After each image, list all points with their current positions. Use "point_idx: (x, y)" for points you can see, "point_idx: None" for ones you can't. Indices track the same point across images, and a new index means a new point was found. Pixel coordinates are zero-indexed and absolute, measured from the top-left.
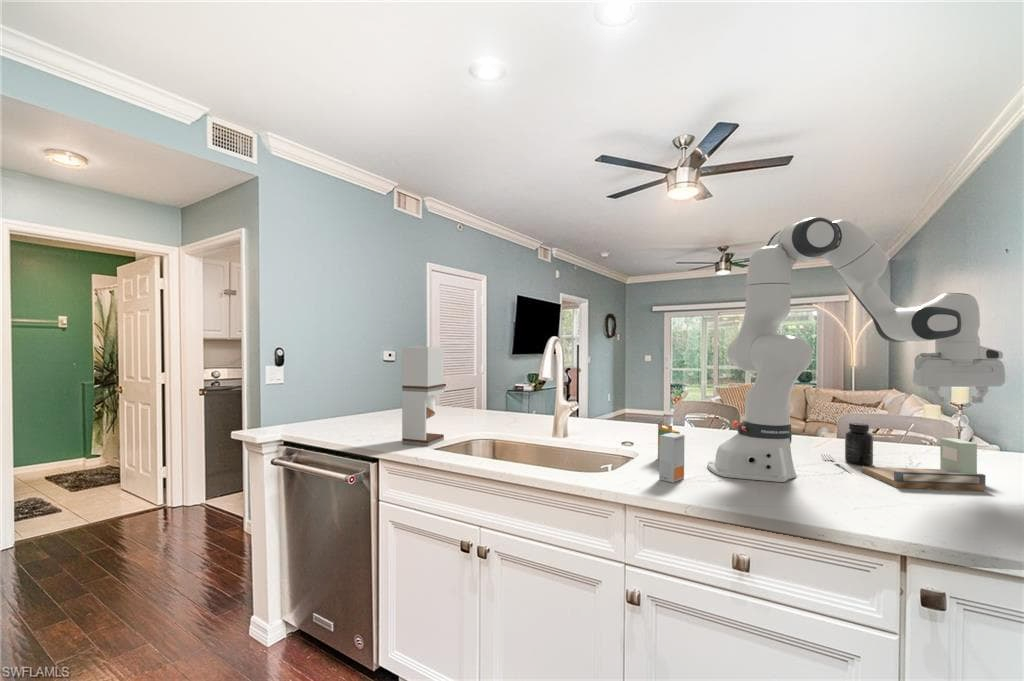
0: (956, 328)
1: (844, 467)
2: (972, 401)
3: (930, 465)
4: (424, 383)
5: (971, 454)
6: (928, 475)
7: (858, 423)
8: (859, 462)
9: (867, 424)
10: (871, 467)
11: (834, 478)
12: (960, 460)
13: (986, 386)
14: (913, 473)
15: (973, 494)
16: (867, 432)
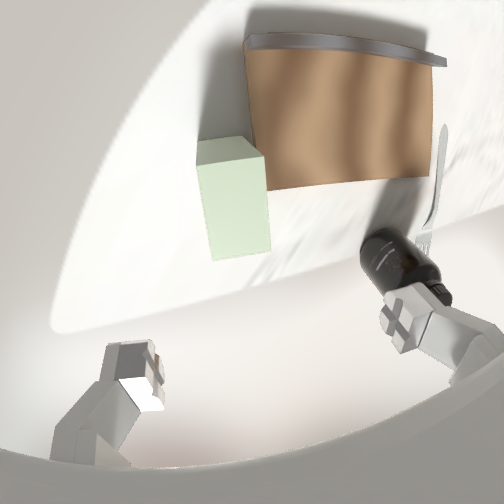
0: None
1: (439, 190)
2: (161, 371)
3: (222, 281)
4: None
5: (214, 154)
6: (390, 43)
7: None
8: (398, 231)
9: None
10: (415, 172)
11: (478, 120)
12: (249, 144)
13: (62, 462)
14: (418, 50)
15: (294, 14)
16: None
